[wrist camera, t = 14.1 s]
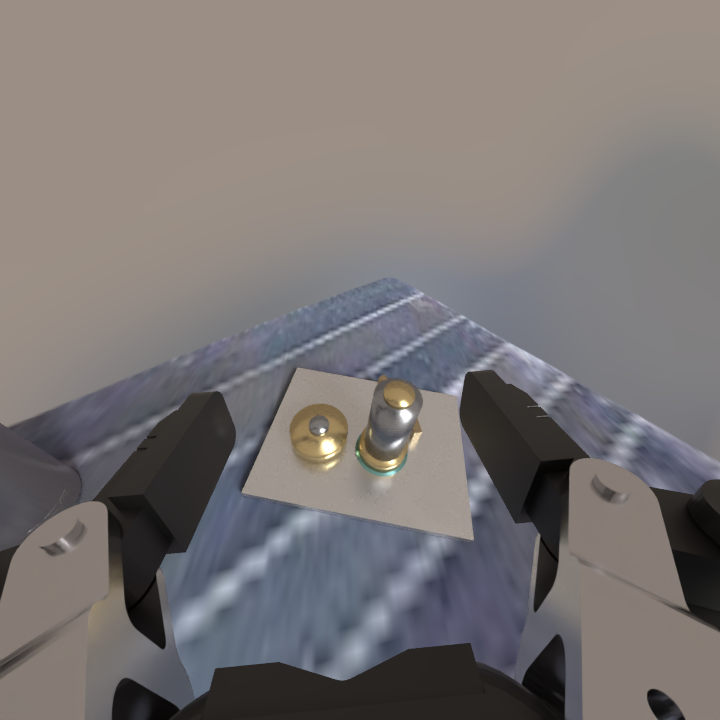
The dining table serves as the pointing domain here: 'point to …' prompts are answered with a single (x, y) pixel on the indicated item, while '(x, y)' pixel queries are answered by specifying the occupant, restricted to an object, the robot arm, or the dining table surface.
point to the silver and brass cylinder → (389, 424)
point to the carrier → (347, 471)
